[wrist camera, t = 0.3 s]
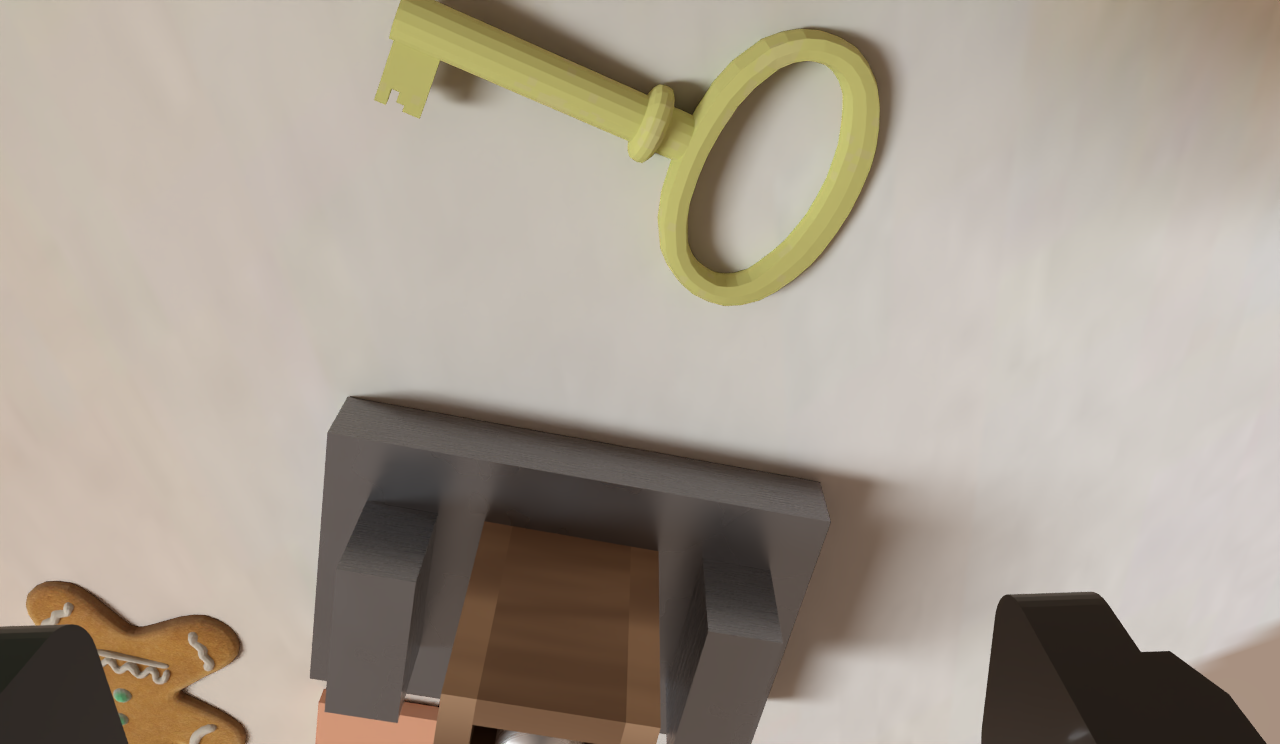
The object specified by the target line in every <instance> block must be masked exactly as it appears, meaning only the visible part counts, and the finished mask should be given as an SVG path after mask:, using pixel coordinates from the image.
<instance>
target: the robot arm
mask: <svg viewBox="0 0 1280 744" xmlns="http://www.w3.org/2000/svg"><path fill="white" fill-rule="evenodd" d="M0 744H128V741H127V738H126V735H125V732H124V729H123V726H122V723H121V720H120V717H119V714H118V711H117V708H116V705H115V702H114V699H113V696H112V693H111V690H110V687H109V684H108V681H107V678H106V675H105V672H104V669H103V666H102V663H101V660H100V657H99V654H98V651H97V648H96V646H95V643H94V641H93V639H92V637H91V636H90V634H89V633H88V632H87V631H86V630H85V629H84V628H82V627H81V626H79V625H74V624H65V625H36V626H7V627H0ZM981 744H1266V742H1265V741H1264V740H1263V739H1262V737H1261V736H1260V735H1259V733H1258V732H1257V731H1256V729H1255V728H1254V727H1253V725H1252V724H1251V723H1250V721H1249V720H1248V719H1247V718H1246V716H1245V715H1244V714H1243V712H1242V711H1241V710H1240V709H1239V707H1238V706H1237V705H1236V703H1235V702H1234V700H1233V699H1232V698H1231V696H1230V695H1229V694H1228V693H1226V692H1225V691H1224V690H1222V689H1221V688H1219V687H1218V686H1217V685H1215V684H1214V683H1212V682H1211V681H1210V680H1208V679H1207V678H1206V677H1204V676H1203V675H1202V674H1200V673H1199V672H1198V671H1196V670H1195V669H1194V668H1192V667H1191V666H1189V665H1188V664H1187V663H1185V662H1184V661H1183V660H1181V659H1180V658H1179V657H1177V656H1176V655H1174V654H1173V653H1172V652H1170V651H1161V652H1140V650H1139V649H1138V647H1137V646H1136V644H1135V643H1134V641H1133V640H1132V639H1131V637H1130V636H1129V634H1128V633H1127V631H1126V630H1125V628H1124V627H1123V625H1122V624H1121V622H1120V621H1119V620H1118V618H1117V617H1116V615H1115V614H1114V612H1113V611H1112V609H1111V608H1110V606H1109V605H1108V604H1107V602H1106V601H1105V600H1104V599H1103V598H1102V597H1101V596H1100V595H1099V594H1097V593H1095V592H1071V593H1042V594H1013V595H1005V596H1003V597H1002V598H1001V599H1000V601H999V604H998V606H997V610H996V615H995V622H994V631H993V639H992V648H991V656H990V664H989V673H988V681H987V690H986V698H985V706H984V715H983V723H982V736H981Z"/></svg>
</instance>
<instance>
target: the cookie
mask: <svg viewBox="0 0 1280 744" xmlns="http://www.w3.org/2000/svg"><path fill="white" fill-rule="evenodd" d="M26 607H27V611H28V614H29V616H30V617H31V619H32V620H33V622H34V623H35V625H65V624H74V625H79V626H81V627H82V628H84V629H85V630H86V631H87V632H88V633H89V634H90V636H91V637H92V639H93V641H94V643H95V646H96V648H97V651H98V654H99V657H100V660H101V663H102V666H103V669H104V672H105V675H106V678H107V681H108V684H109V687H110V690H111V693H112V696H113V699H114V702H115V705H116V708H117V711H118V714H119V717H120V720H121V723H122V726H123V729H124V732H125V735H126V738H127V741H128V744H245V742H246V732H245V730H244V728H243V726H242V724H240V723H239V722H238V721H237V720H235V719H234V718H233V717H231V716H229V715H228V714H226V713H224V712H222V711H221V710H219V709H217V708H215V707H213V706H211V705H209V704H207V703H205V702H203V701H200V700H198V699H196V698H194V697H192V696H190V695H188V694H186V693H184V692H183V691H182V690H181V689H183V688H185V687H187V686H189V685H190V684H192V683H194V682H196V681H198V680H199V679H201V678H203V677H205V676H207V675H209V674H211V673H213V672H216V671H218V670H220V669H222V668H223V667H225V666H226V665H228V664H229V663H231V662H232V661H233V660H234V658H235V657H236V656H237V655H238V653H239V648H240V642H239V640H238V638H237V636H236V634H235V633H234V632H233V630H232V629H231V628H230V627H229V626H228V625H226V624H224V623H222V622H220V621H219V620H217V619H214V618H211V617H208V616H205V615H188V616H181V617H177V618H174V619H170V620H167V621H163V622H159V623H156V624H152V625H148V626H144V627H138V626H133V625H131V624H129V623H127V622H126V621H125V620H123V619H122V618H121V617H119V616H118V615H117V614H116V613H114V612H113V611H112V610H111V609H110V608H108V607H107V606H106V605H105V604H104V603H102V602H101V601H100V600H99V599H97V598H96V597H95V596H94V595H92V594H91V593H89V592H88V591H86V590H84V589H83V588H81V587H79V586H77V585H74V584H72V583H67V582H60V581H46V582H44V583H42V584H39V585H37V586H36V587H35V588H34V589H33V590H32V591H31V592H30V593H29V594H28V596H27V601H26Z"/></svg>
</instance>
